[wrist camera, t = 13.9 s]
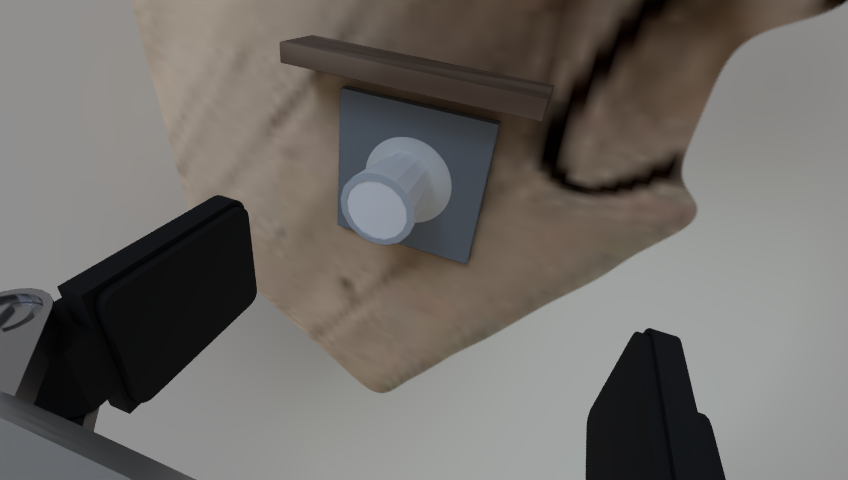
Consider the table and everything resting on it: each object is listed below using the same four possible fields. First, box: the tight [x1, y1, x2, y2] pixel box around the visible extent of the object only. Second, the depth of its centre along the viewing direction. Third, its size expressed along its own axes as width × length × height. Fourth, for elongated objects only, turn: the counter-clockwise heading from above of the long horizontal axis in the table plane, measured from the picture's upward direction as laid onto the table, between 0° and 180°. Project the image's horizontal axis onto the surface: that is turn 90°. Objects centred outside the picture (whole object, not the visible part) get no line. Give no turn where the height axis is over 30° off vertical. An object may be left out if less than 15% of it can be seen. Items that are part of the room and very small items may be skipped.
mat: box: [338, 86, 501, 264], centre depth 43 cm, size 15×15×1 cm
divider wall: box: [280, 35, 554, 121], centre depth 35 cm, size 2×22×5 cm, turn 83°
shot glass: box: [341, 152, 432, 245], centre depth 39 cm, size 7×7×7 cm
